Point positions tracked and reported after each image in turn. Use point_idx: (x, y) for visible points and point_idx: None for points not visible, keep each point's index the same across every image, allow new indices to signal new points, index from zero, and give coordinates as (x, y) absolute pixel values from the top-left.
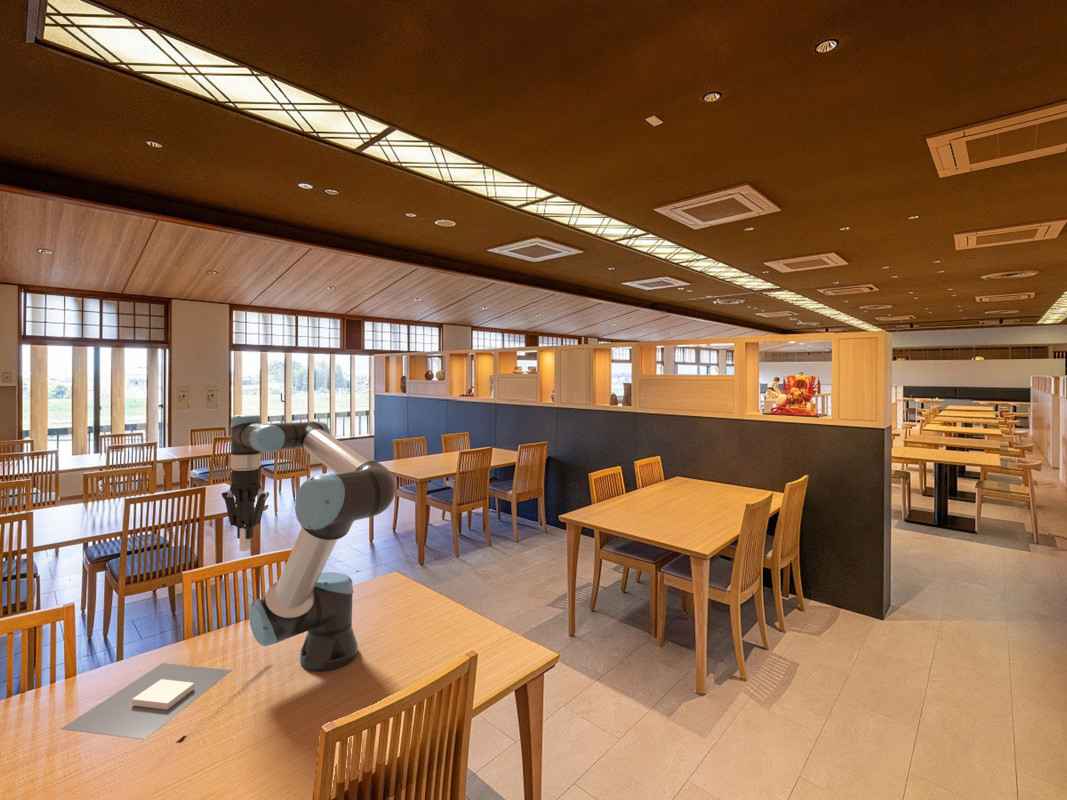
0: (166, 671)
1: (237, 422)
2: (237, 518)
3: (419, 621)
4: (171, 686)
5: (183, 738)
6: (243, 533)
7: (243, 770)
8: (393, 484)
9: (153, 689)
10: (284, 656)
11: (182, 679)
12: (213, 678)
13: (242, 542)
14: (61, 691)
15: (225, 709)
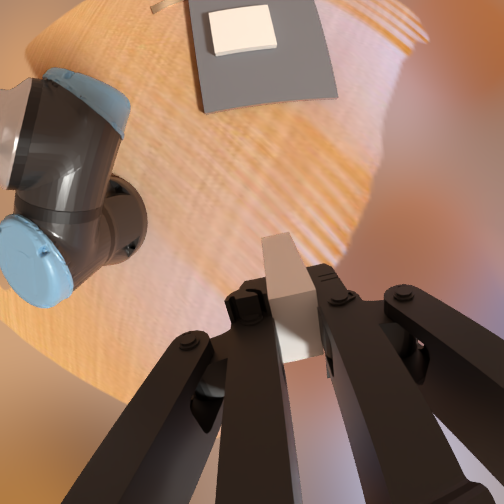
0: (307, 78)
1: None
2: (374, 342)
3: (83, 340)
4: (241, 36)
5: (153, 10)
6: (275, 277)
7: (69, 26)
8: None
9: (260, 24)
10: (170, 192)
11: (260, 68)
12: (213, 86)
13: (277, 251)
14: (400, 36)
15: (148, 59)
